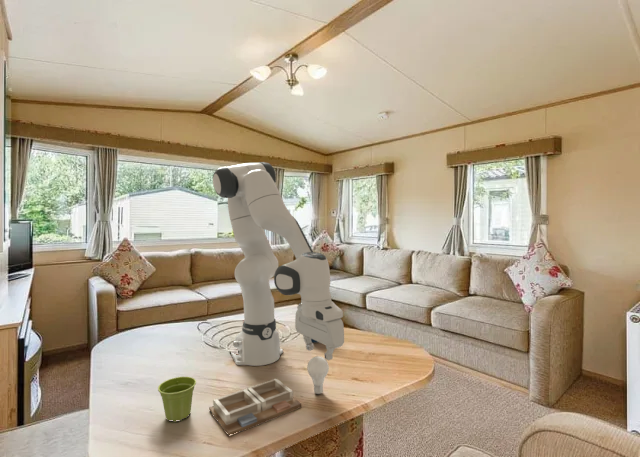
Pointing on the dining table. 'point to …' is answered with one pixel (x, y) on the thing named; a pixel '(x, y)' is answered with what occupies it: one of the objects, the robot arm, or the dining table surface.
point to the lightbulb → (318, 372)
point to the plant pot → (177, 397)
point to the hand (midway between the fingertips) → (318, 354)
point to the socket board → (253, 406)
